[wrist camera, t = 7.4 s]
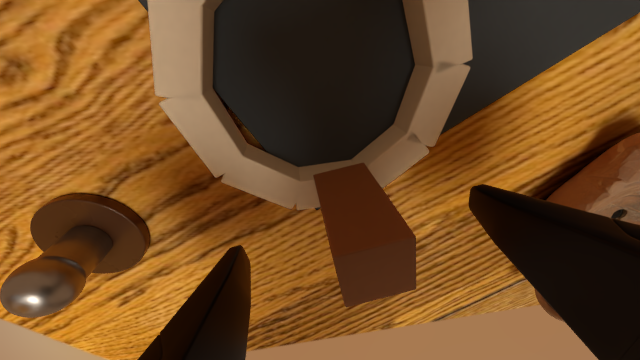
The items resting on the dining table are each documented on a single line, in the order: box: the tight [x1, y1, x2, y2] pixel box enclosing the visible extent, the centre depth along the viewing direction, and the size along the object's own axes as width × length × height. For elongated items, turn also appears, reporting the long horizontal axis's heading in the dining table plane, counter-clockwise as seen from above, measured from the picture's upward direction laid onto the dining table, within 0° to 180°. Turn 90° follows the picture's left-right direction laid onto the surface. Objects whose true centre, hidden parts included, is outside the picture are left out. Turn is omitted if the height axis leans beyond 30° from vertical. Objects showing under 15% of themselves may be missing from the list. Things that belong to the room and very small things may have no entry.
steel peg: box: [0, 194, 150, 317], centre depth 11 cm, size 5×5×4 cm
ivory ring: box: [147, 0, 473, 307], centre depth 8 cm, size 12×12×7 cm
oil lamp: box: [535, 132, 640, 322], centre depth 15 cm, size 13×8×5 cm, turn 167°
